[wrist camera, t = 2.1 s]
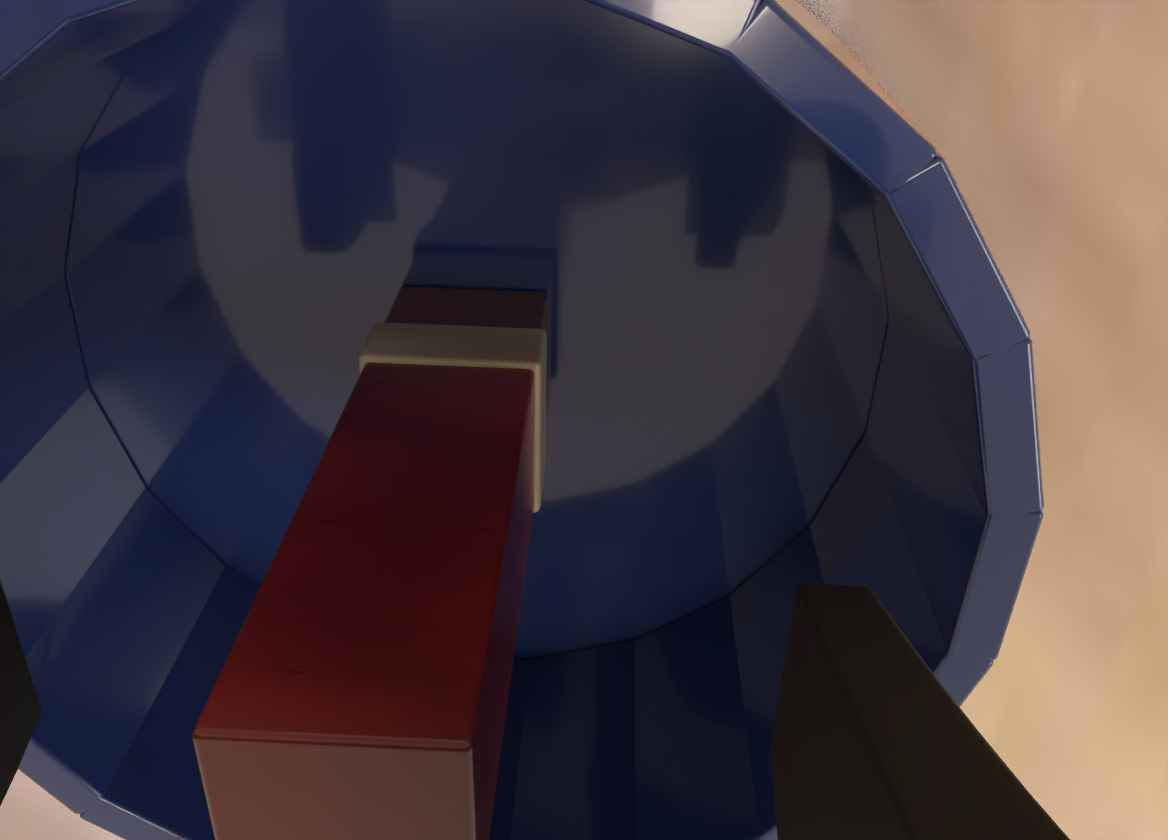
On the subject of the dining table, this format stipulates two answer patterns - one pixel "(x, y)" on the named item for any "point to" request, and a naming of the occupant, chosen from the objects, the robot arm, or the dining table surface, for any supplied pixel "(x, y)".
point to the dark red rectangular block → (393, 592)
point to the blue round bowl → (574, 368)
